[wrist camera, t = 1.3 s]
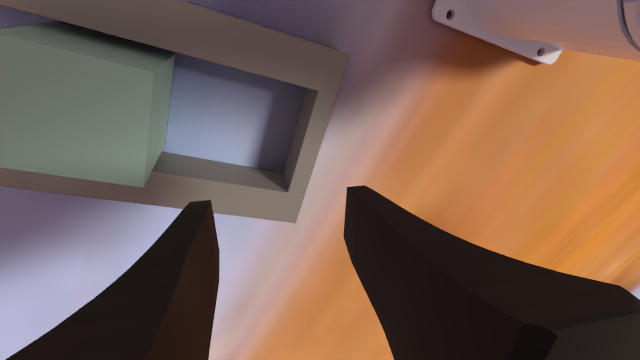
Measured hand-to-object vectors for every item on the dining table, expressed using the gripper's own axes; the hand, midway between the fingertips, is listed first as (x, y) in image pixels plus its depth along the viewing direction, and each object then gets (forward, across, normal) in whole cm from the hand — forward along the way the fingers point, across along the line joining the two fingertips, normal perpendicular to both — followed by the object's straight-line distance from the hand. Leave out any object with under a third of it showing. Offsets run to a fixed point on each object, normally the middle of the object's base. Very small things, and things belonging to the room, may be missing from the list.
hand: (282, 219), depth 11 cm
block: (+10, +7, -2) cm, 12 cm away
